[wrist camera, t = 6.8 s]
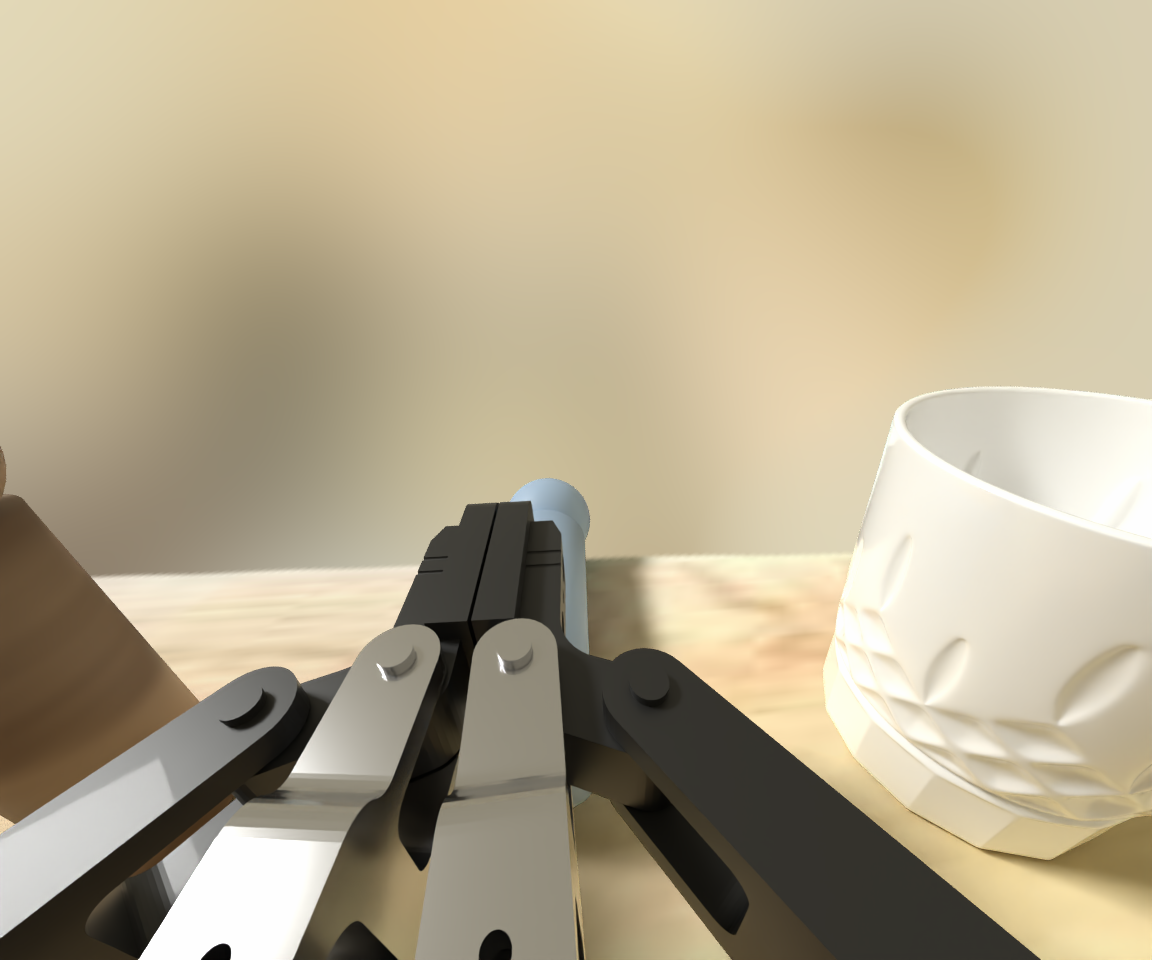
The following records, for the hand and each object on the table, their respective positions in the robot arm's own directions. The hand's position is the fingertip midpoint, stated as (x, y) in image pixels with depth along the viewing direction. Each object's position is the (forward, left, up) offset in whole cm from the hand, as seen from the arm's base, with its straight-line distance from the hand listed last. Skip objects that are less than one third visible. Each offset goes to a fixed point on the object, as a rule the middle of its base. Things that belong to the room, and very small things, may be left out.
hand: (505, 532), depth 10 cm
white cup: (+13, -1, -8) cm, 15 cm away
